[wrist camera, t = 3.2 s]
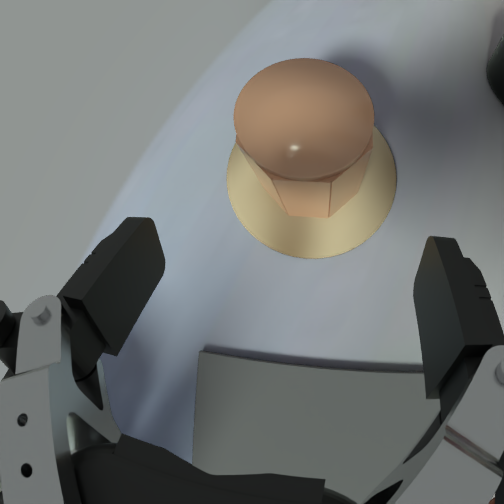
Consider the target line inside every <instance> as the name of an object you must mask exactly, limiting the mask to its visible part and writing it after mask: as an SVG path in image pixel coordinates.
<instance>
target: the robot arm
mask: <svg viewBox="0 0 504 504" xmlns="http://www.w3.org/2000/svg"><path fill="white" fill-rule="evenodd" d="M164 270H165V257H164V253H163V250H162V247H161V244H160V240H159V237H158V234H157V230H156V227H155V224H154V221H153V220H152V219H151V218H145V217H128V218H126V219H125V220H124V221H123V222H122V223H121V224H120V225H119V227H118V228H117V229H116V230H115V231H114V232H113V233H112V234H110V235H109V236H108V237H106V238H105V239H103V240H102V241H101V242H100V243H99V244H98V245H97V246H96V248H95V249H94V250H93V251H92V254H91V255H89V256H88V257H87V258H86V259H85V261H84V264H83V263H82V264H81V266H80V267H79V268H78V269H77V270H76V272H75V273H74V274H73V275H72V277H71V278H70V279H69V281H68V282H67V283H66V285H65V286H64V287H63V288H62V290H61V291H60V292H59V293H58V295H57V296H53V295H46V296H42V297H40V298H38V299H36V300H35V301H33V302H32V303H31V304H30V305H29V306H28V307H27V308H26V309H25V311H24V312H19V313H11V311H10V310H9V308H8V307H7V306H6V304H5V303H4V302H3V301H1V300H0V360H1V361H2V362H3V363H4V364H5V365H6V366H7V367H8V368H9V369H8V371H7V373H6V374H5V376H4V378H3V379H2V380H1V382H0V504H357V503H356V502H355V501H353V500H352V499H350V498H348V497H347V496H345V495H343V494H340V493H338V492H336V491H334V490H331V489H328V488H325V487H324V486H325V480H326V479H318V478H307V477H297V476H289V475H281V474H274V473H263V474H244V475H212V474H209V473H206V472H204V471H202V470H201V469H199V468H197V467H195V466H193V465H191V464H190V463H188V462H186V461H184V460H183V459H181V458H179V457H178V456H176V455H174V454H173V453H171V452H169V451H168V450H166V449H164V448H162V447H158V446H155V445H152V444H149V443H146V442H144V441H141V440H138V439H135V438H132V437H130V436H127V435H124V434H121V432H120V430H119V428H118V426H117V425H116V423H115V421H114V419H113V417H112V414H111V409H110V404H109V399H108V394H107V389H106V383H105V377H104V371H103V365H102V362H101V360H100V359H99V358H100V356H101V354H102V352H104V353H107V354H111V355H114V356H117V355H118V353H119V352H120V350H121V348H122V346H123V344H124V342H125V341H126V339H127V337H128V335H129V333H130V332H131V330H132V328H133V326H134V324H135V323H136V321H137V319H138V317H139V316H140V314H141V312H142V310H143V309H144V307H145V305H146V303H147V302H148V300H149V298H150V297H151V295H152V293H153V291H154V290H155V288H156V286H157V285H158V283H159V281H160V280H161V278H162V276H163V274H164ZM486 286H487V285H486V283H485V280H484V278H483V276H482V273H481V271H480V270H479V269H478V267H477V266H476V265H475V264H474V263H473V262H472V261H471V259H470V258H464V257H463V255H462V252H461V250H460V248H459V245H458V243H457V241H456V240H455V239H454V238H446V237H436V236H430V237H428V239H427V241H426V244H425V248H424V251H423V255H422V258H421V261H420V265H419V268H418V271H417V274H416V277H415V282H414V290H413V297H414V304H415V310H416V316H417V322H418V329H419V336H420V343H421V351H422V360H423V369H424V379H425V391H426V399H440V410H439V411H438V412H437V413H436V415H435V416H434V418H433V419H432V421H431V422H430V424H429V425H428V426H427V428H426V429H425V431H424V432H423V433H422V435H421V436H420V438H419V439H418V440H417V442H416V443H415V444H414V446H413V447H412V448H411V450H410V451H409V452H408V453H407V455H406V456H405V457H404V458H403V460H402V461H401V462H400V463H399V465H398V466H397V467H396V468H395V469H394V470H393V471H392V472H391V473H390V474H389V475H388V476H387V477H386V478H385V479H384V480H383V481H382V482H381V483H380V484H379V485H378V486H377V487H376V488H375V489H374V490H373V491H372V492H371V493H370V494H369V495H368V496H367V497H366V498H365V500H364V501H363V502H362V503H361V504H489V502H490V500H491V498H492V497H493V495H494V493H495V504H504V334H503V330H502V327H501V324H500V321H499V318H498V315H497V312H496V310H495V307H494V304H493V301H491V296H490V293H489V291H488V288H486Z"/></svg>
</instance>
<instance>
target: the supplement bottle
mask: <svg viewBox="0 0 504 504" xmlns="http://www.w3.org/2000/svg"><path fill="white" fill-rule="evenodd" d="M487 76H488V80H489V83H490V85H491V88H492V90H493V91H494V93H495V95H496V96H497V98H498V99H499V100H500V101H501V103H502V104H503V105H504V35H503V37H502V38H501V40H500V42H499V44H498V46H497V48H496V49H495V51H494V53H493V55H492V57H491V59H490V60H489V62H488V65H487Z"/></svg>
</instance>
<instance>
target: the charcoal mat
mask: <svg viewBox="0 0 504 504" xmlns="http://www.w3.org/2000/svg"><path fill="white" fill-rule="evenodd" d="M439 410H440V399H426V391H425V379H424V372H401V371H374V370H356V369H342V368H329V367H318V366H308V365H298V364H289V363H281V362H273V361H265V360H258V359H251V358H244V357H237V356H231V355H225V354H219V353H213V352H208V351H200V352H199V359H198V372H197V386H196V401H195V418H194V436H193V458H192V465H193V466H195V467H197V468H199V469H201V470H202V471H204V472H206V473H209V474H212V475H244V474H263V473H274V474H281V475H289V476H297V477H307V478H318V479H326V480H325V486H324V487H325V488H328V489H331V490H334V491H336V492H338V493H340V494H343V495H345V496H347V497H348V498H350V499H352V500H353V501H355V502H356V503H357V504H361V503H362V502H363V501H364V500H365V498H366V497H367V496H368V495H369V494H370V493H371V492H372V491H373V490H374V489H375V488H376V487H377V486H378V485H379V484H380V483H381V482H382V481H383V480H384V479H385V478H386V477H387V476H388V475H389V474H390V473H391V472H392V471H393V470H394V469H395V468H396V467H397V466H398V465H399V463H400V462H401V461H402V460H403V458H404V457H405V456H406V455H407V453H408V452H409V451H410V450H411V448H412V447H413V446H414V444H415V443H416V442H417V440H418V439H419V438H420V436H421V435H422V433H423V432H424V431H425V429H426V428H427V426H428V425H429V424H430V422H431V421H432V419H433V418H434V416H435V415H436V413H437V412H438V411H439Z"/></svg>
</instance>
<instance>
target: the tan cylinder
mask: <svg viewBox="0 0 504 504" xmlns="http://www.w3.org/2000/svg"><path fill="white" fill-rule="evenodd" d="M373 125H374V109H373V104H372V101H371V98H370V96H369V94H368V92H367V90H366V89H365V87H364V86H363V85H362V83H361V82H360V81H359V80H358V79H357V78H356V77H355V76H354V75H352V74H351V73H350V72H348V71H347V70H345V69H343V68H342V67H340V66H338V65H335V64H333V63H330V62H327V61H323V60H318V59H309V58H299V59H290V60H285V61H282V62H278V63H276V64H273V65H271V66H269V67H267V68H265V69H263V70H262V71H260V72H258V73H257V74H256V75H255V76H253V77H252V78H251V79H250V80H249V81H248V82H247V84H246V85H245V86H244V88H243V89H242V90H241V92H240V94H239V96H238V98H237V101H236V104H235V109H234V126H235V130H236V133H237V135H236V144H237V145H238V147H239V148H240V150H241V152H242V153H243V155H244V157H245V158H246V160H247V162H248V163H249V165H250V167H251V168H252V170H253V172H254V173H255V175H256V177H257V178H258V180H259V182H260V183H261V185H262V187H263V188H264V189H265V190H266V191H267V192H268V194H269V195H270V196H271V197H272V198H273V199H274V200H275V201H276V202H277V204H278V205H279V206H280V207H281V208H282V209H283V210H284V211H285V213H286V214H287V215H289V216H301V217H317V218H328V217H329V218H330V217H331V216H332V215H333V214H334V213H336V212H337V211H338V210H339V209H340V208H341V207H342V206H344V205H345V204H346V203H347V202H348V201H349V200H350V199H352V198H353V197H354V196H355V195H356V194H357V193H358V191H359V188H360V185H361V182H362V179H363V176H364V173H365V170H366V167H367V164H368V161H369V158H370V155H371V152H372V149H373V133H372V130H373Z"/></svg>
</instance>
